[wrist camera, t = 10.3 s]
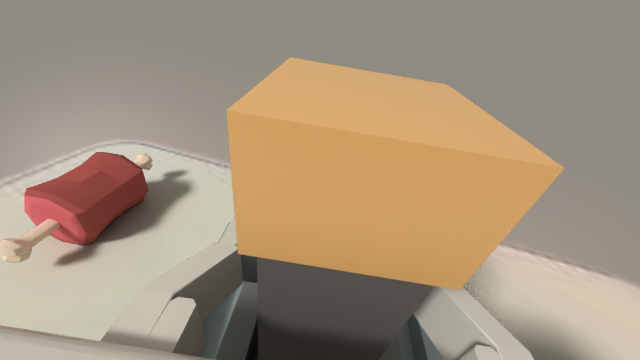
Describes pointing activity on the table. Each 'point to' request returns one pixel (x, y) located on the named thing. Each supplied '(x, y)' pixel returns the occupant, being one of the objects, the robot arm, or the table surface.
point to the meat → (80, 202)
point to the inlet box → (242, 331)
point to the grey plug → (367, 201)
